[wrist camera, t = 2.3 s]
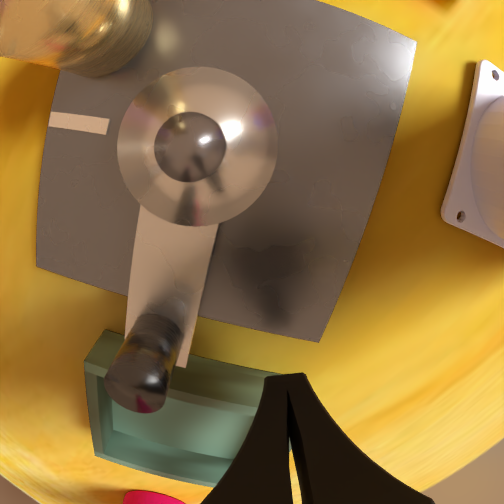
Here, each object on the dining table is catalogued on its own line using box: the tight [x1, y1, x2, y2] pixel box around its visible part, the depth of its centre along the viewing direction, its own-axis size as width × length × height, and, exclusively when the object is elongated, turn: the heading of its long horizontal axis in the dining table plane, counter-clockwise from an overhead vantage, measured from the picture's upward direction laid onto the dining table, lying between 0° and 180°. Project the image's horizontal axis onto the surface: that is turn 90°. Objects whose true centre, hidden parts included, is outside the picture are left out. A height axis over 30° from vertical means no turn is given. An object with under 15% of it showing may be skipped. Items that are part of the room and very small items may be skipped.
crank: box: [104, 67, 278, 413], centre depth 9 cm, size 11×5×4 cm, turn 165°
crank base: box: [36, 0, 417, 343], centre depth 11 cm, size 13×13×1 cm
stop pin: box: [0, 0, 153, 77], centre depth 7 cm, size 4×4×5 cm
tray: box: [84, 330, 292, 487], centre depth 15 cm, size 10×8×3 cm
